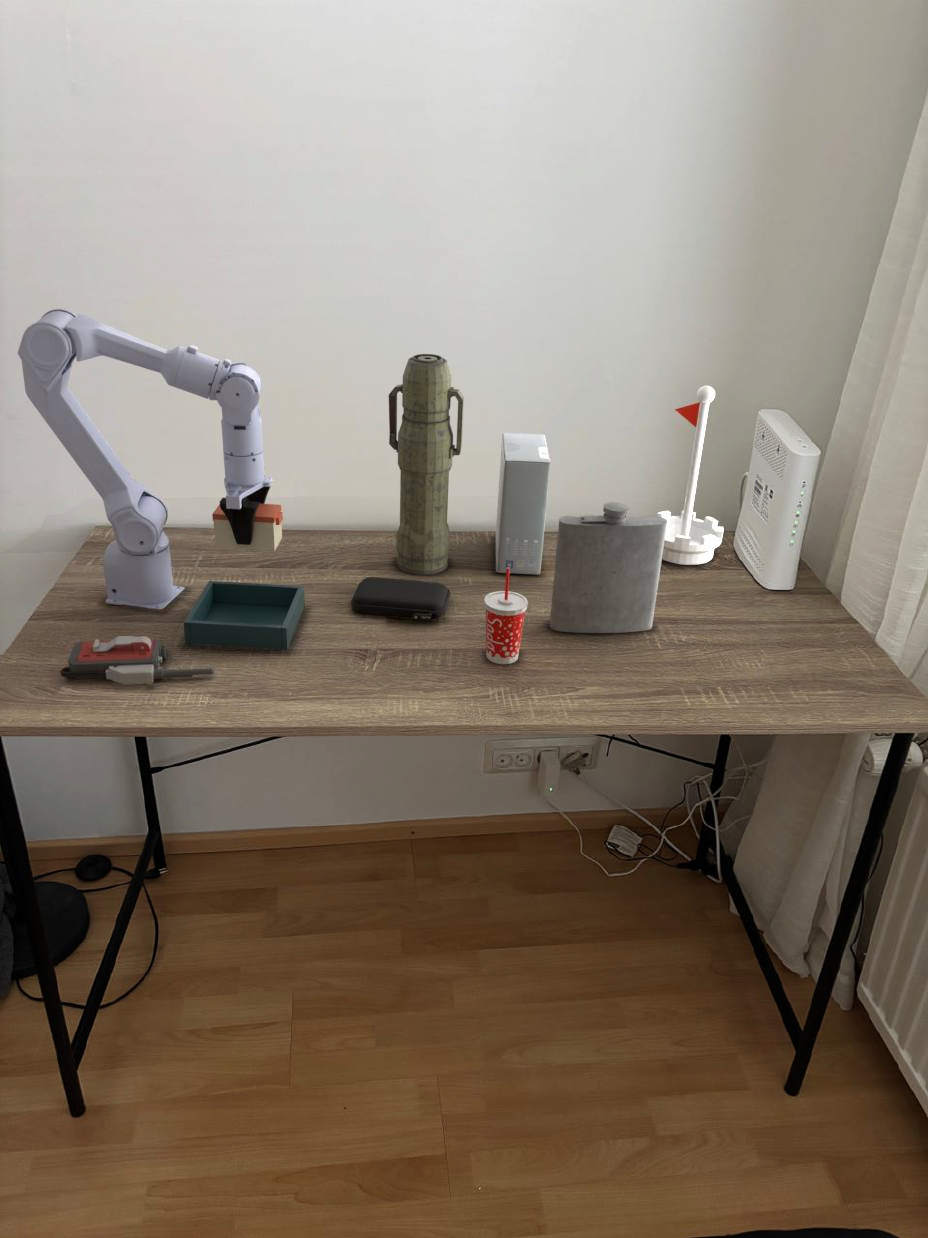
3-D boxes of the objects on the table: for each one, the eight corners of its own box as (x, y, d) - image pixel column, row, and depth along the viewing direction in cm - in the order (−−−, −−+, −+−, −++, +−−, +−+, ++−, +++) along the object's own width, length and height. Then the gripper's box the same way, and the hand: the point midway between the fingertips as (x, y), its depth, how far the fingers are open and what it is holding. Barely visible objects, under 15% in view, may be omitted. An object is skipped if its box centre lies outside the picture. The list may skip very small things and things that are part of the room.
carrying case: (346, 620, 155) (443, 628, 154) (346, 602, 154) (443, 610, 152) (360, 589, 164) (451, 597, 163) (360, 572, 163) (452, 580, 162)
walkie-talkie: (58, 691, 134) (214, 684, 137) (53, 662, 132) (212, 656, 135) (70, 658, 142) (218, 652, 145) (65, 630, 140) (215, 624, 143)
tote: (185, 647, 146) (183, 622, 144) (210, 603, 158) (208, 580, 156) (287, 653, 146) (286, 628, 144) (305, 609, 158) (304, 585, 156)
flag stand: (731, 551, 184) (760, 386, 170) (698, 574, 175) (726, 401, 161) (666, 531, 191) (689, 371, 177) (631, 552, 182) (653, 385, 168)
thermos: (391, 550, 178) (392, 348, 162) (458, 555, 178) (467, 352, 161) (383, 572, 170) (384, 362, 154) (454, 577, 170) (463, 366, 154)
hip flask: (649, 620, 159) (666, 499, 150) (655, 633, 155) (673, 510, 146) (547, 621, 157) (558, 499, 148) (552, 634, 154) (564, 510, 144)
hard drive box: (541, 576, 172) (551, 463, 162) (495, 574, 172) (502, 460, 162) (536, 539, 185) (545, 432, 176) (494, 537, 185) (500, 430, 176)
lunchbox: (211, 547, 154) (209, 513, 152) (221, 534, 159) (218, 500, 156) (278, 551, 154) (276, 517, 151) (285, 538, 158) (284, 504, 156)
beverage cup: (474, 649, 149) (478, 562, 142) (512, 642, 151) (518, 556, 144) (491, 670, 144) (497, 580, 137) (530, 662, 146) (538, 574, 140)
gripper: (258, 468, 143) (263, 557, 149) (281, 436, 156) (284, 519, 162) (208, 465, 143) (215, 554, 149) (235, 433, 156) (240, 516, 162)
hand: (248, 536), depth 156 cm, fingers closed on lunchbox, 5 cm apart
